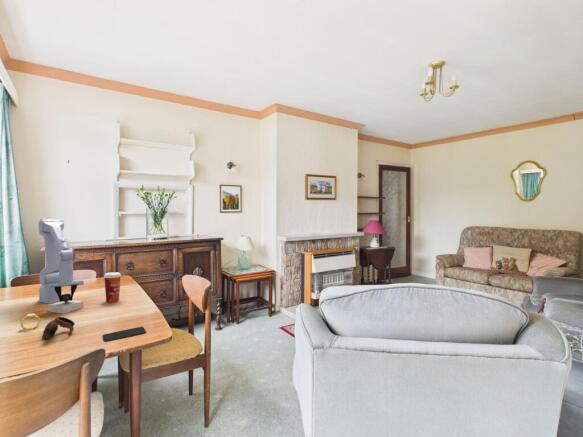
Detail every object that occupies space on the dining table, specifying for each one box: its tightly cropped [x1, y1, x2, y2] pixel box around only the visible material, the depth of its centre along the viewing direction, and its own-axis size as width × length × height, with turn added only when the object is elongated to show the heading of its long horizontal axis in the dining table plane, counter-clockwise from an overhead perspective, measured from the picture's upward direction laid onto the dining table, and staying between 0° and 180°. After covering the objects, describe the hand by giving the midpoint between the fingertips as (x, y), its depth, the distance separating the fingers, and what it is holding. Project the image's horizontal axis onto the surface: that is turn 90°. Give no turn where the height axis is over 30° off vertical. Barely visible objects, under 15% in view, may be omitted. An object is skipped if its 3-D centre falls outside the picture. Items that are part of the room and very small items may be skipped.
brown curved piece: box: [41, 316, 76, 341], centre depth 121 cm, size 12×10×8 cm
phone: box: [102, 326, 147, 343], centre depth 124 cm, size 7×1×15 cm
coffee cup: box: [103, 271, 122, 304], centre depth 166 cm, size 8×8×15 cm
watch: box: [20, 313, 41, 330], centre depth 128 cm, size 6×3×6 cm, turn 128°
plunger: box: [61, 292, 71, 304], centre depth 151 cm, size 4×4×7 cm
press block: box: [47, 299, 84, 314], centre depth 152 cm, size 10×10×3 cm
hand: (66, 300), depth 151 cm, fingers closed on plunger, 4 cm apart
